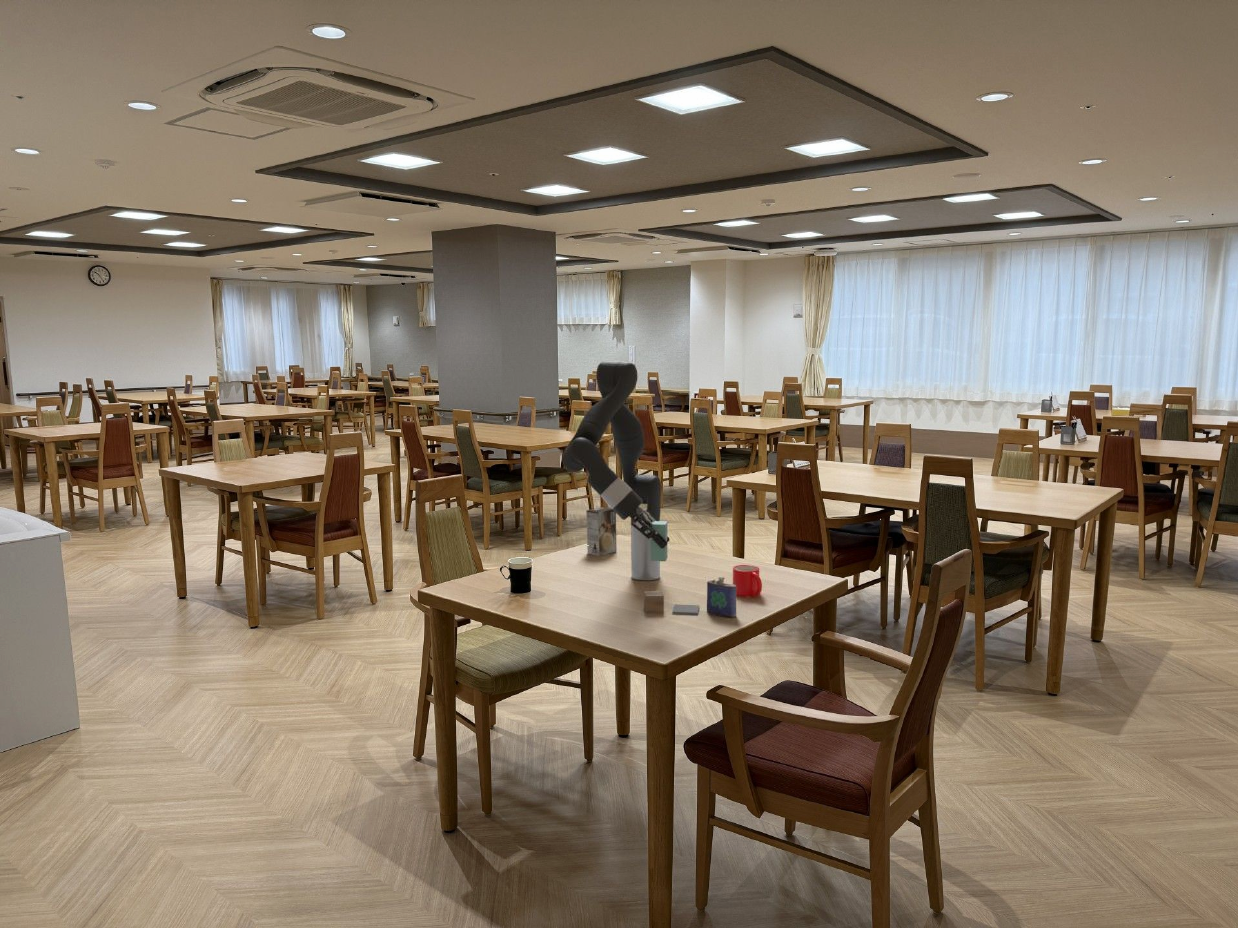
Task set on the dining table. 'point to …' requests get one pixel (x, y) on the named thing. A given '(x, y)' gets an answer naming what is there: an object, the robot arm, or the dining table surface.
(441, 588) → the dining table surface
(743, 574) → the mug
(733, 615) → the flask
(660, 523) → the teal post
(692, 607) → the slate coaster
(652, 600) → the walnut block
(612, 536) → the coffee box
